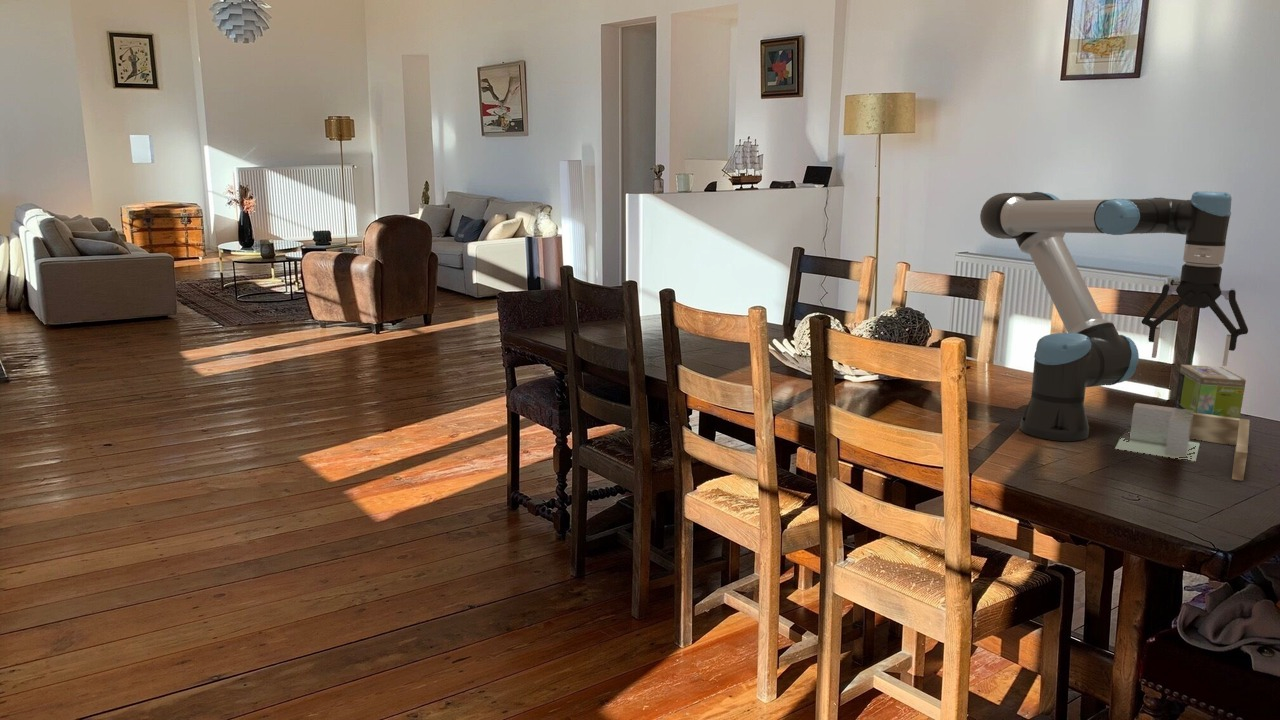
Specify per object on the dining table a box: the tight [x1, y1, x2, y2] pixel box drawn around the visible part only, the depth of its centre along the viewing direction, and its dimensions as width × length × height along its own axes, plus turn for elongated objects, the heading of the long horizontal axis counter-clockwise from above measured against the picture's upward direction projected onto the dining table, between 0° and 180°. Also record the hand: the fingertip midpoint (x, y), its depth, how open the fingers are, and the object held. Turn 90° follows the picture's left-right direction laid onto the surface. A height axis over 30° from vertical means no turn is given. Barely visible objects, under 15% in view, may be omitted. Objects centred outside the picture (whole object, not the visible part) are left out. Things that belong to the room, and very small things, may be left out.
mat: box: [1114, 437, 1200, 463], centre depth 222 cm, size 16×16×1 cm
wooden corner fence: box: [1190, 412, 1251, 482], centre depth 216 cm, size 20×30×6 cm, turn 148°
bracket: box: [1129, 402, 1194, 457], centre depth 221 cm, size 12×12×8 cm
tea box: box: [1173, 364, 1247, 419], centre depth 234 cm, size 15×10×15 cm, turn 168°
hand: (1188, 360), depth 213 cm, fingers open, 13 cm apart
